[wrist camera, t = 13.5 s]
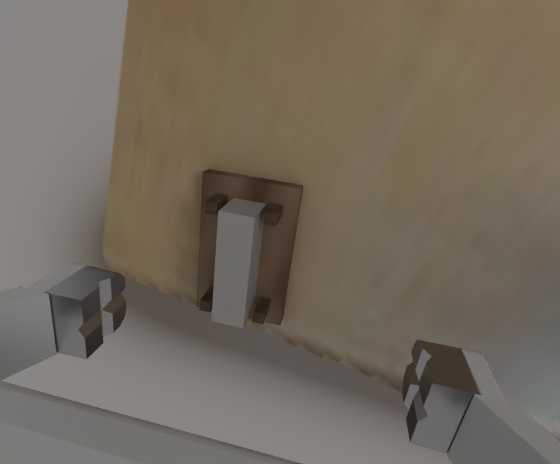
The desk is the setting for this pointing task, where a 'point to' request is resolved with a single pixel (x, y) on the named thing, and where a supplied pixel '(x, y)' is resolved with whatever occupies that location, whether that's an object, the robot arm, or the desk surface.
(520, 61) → the desk surface
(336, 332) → the desk surface
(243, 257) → the grey rectangular block
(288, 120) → the desk surface
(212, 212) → the footed brown board
